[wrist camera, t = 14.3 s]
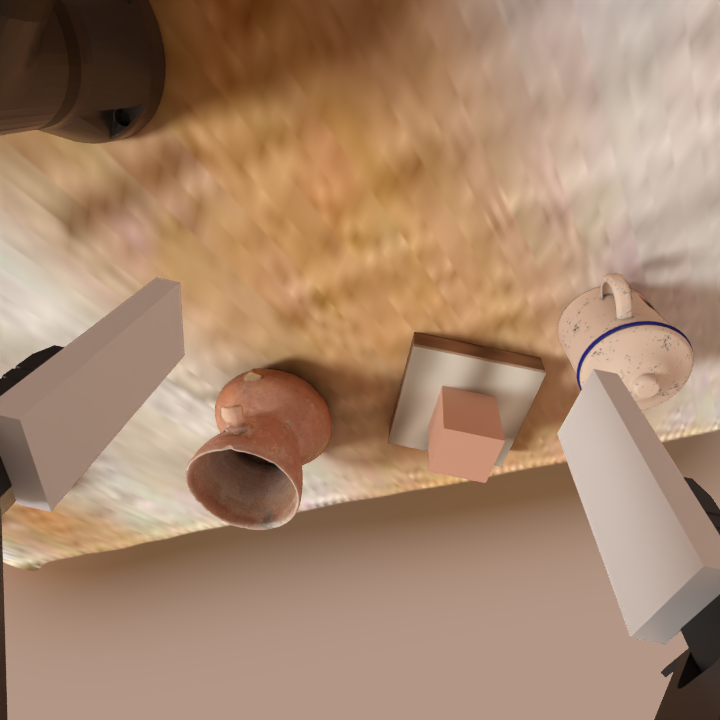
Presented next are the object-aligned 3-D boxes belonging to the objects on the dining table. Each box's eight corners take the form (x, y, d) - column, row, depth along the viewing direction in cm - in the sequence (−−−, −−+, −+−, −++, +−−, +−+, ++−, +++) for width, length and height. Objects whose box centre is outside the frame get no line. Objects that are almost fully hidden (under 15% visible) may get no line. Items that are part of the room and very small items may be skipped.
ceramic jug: (207, 351, 54) (145, 431, 43) (323, 346, 52) (291, 430, 40) (248, 458, 64) (206, 547, 52) (347, 458, 61) (326, 552, 50)
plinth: (389, 426, 57) (387, 442, 55) (414, 332, 49) (413, 346, 47) (498, 449, 57) (501, 466, 54) (540, 358, 49) (546, 373, 47)
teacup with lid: (651, 350, 47) (710, 423, 37) (559, 368, 50) (591, 440, 40) (650, 242, 41) (719, 294, 32) (546, 268, 44) (580, 323, 34)
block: (428, 426, 52) (428, 470, 47) (441, 385, 49) (443, 428, 43) (479, 437, 52) (485, 483, 46) (495, 397, 49) (505, 441, 43)
